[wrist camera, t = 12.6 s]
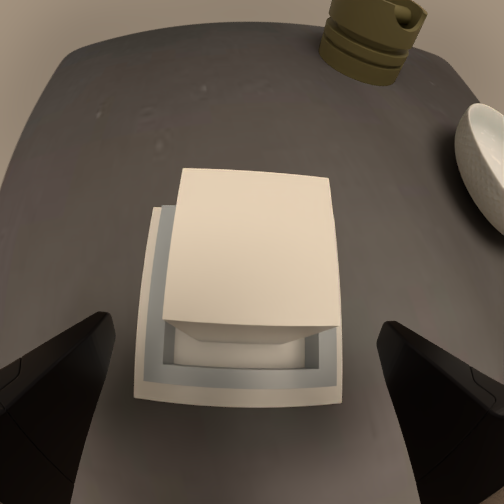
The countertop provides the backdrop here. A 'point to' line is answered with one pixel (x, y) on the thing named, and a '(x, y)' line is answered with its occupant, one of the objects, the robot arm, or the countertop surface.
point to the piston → (370, 38)
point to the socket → (224, 352)
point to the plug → (252, 257)
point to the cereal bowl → (483, 160)
